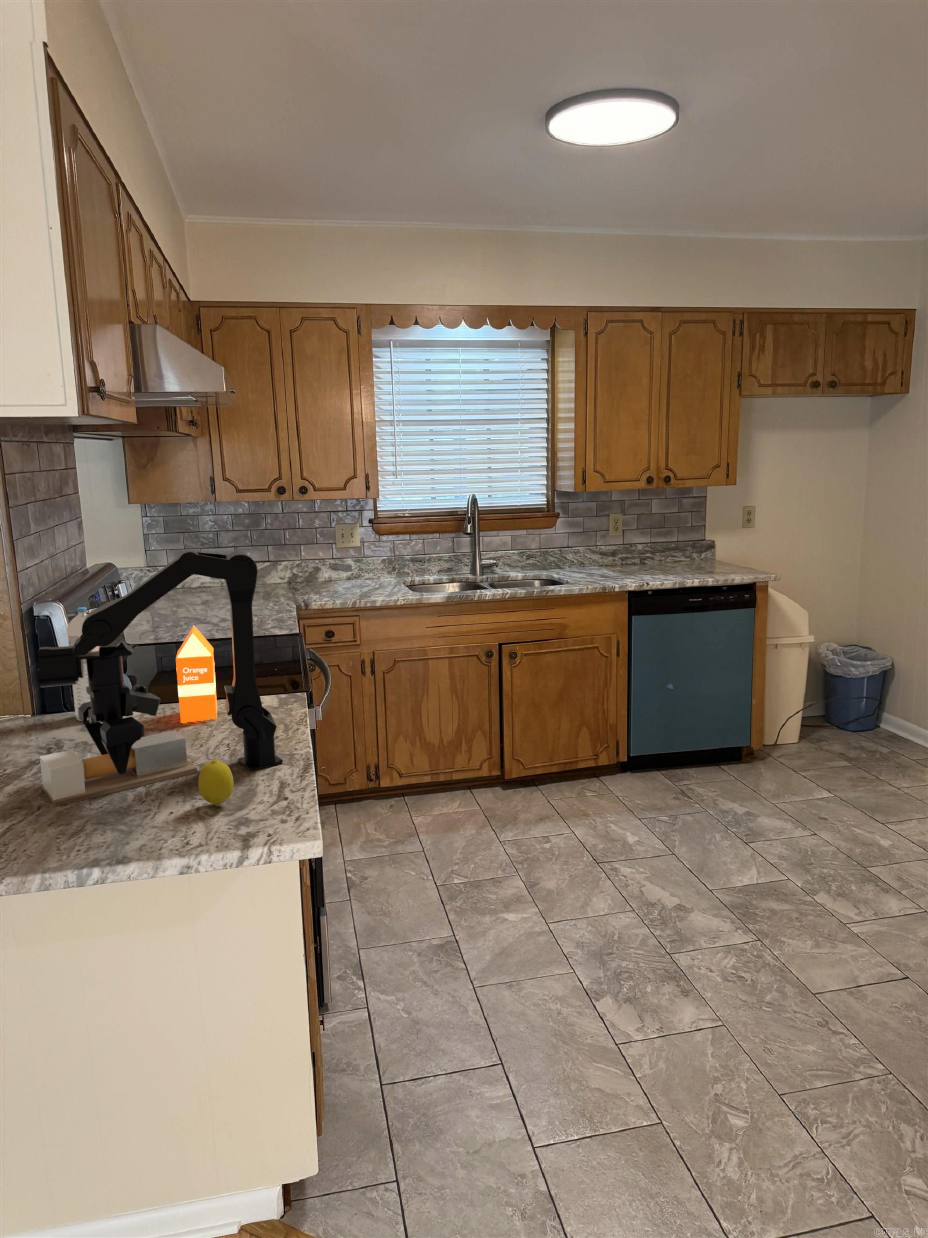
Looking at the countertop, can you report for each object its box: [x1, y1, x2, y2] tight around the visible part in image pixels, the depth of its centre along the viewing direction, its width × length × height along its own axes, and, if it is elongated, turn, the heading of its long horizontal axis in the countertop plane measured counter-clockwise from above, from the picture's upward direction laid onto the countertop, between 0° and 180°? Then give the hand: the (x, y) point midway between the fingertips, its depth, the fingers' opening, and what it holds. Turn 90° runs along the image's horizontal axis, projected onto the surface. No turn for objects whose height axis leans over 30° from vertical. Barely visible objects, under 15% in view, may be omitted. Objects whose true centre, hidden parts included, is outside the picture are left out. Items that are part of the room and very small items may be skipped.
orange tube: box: [81, 749, 136, 780], centre depth 149 cm, size 4×13×4 cm, turn 128°
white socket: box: [39, 749, 86, 800], centre depth 143 cm, size 8×5×5 cm, turn 38°
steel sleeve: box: [130, 730, 188, 778], centre depth 152 cm, size 6×9×5 cm, turn 128°
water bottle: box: [66, 606, 102, 722], centre depth 183 cm, size 7×7×25 cm
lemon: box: [197, 759, 235, 807], centre depth 137 cm, size 6×6×8 cm
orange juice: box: [175, 625, 218, 724], centre depth 184 cm, size 8×9×20 cm
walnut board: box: [41, 760, 198, 807], centre depth 149 cm, size 10×24×1 cm, turn 128°
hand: (114, 766), depth 148 cm, fingers open, 9 cm apart
